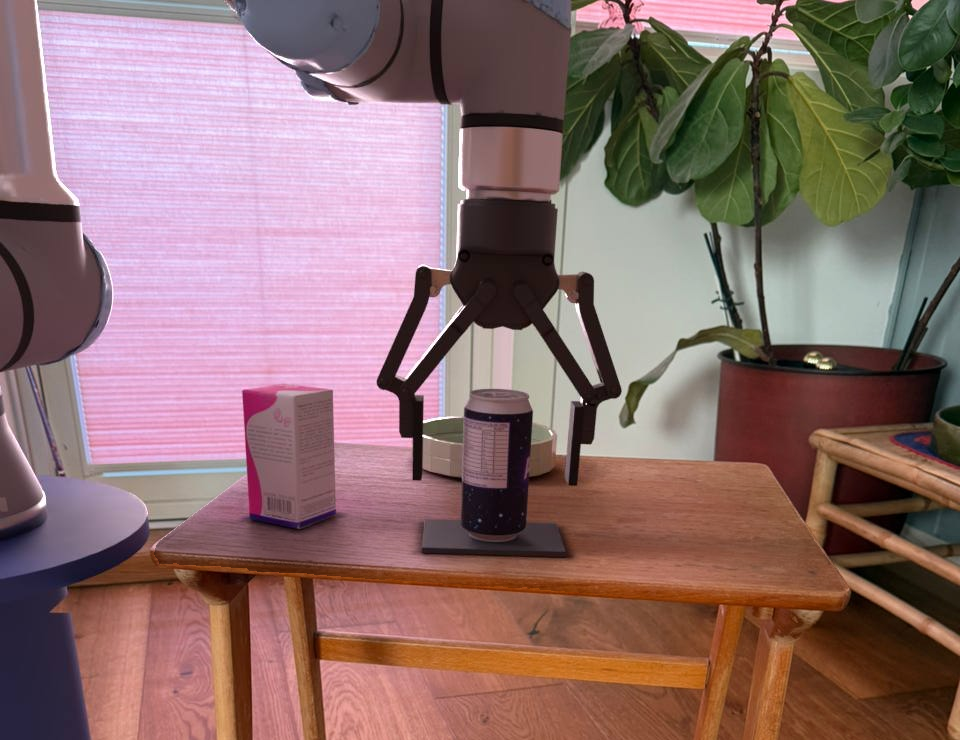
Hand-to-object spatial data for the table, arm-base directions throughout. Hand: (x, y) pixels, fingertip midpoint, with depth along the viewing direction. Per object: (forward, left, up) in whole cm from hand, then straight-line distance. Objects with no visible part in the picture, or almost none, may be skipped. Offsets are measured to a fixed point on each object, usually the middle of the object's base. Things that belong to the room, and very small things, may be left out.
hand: (494, 479), depth 77 cm
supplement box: (-18, +5, -6) cm, 19 cm away
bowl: (0, +27, -5) cm, 28 cm away
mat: (0, 0, -5) cm, 5 cm away
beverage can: (0, 0, -5) cm, 5 cm away
